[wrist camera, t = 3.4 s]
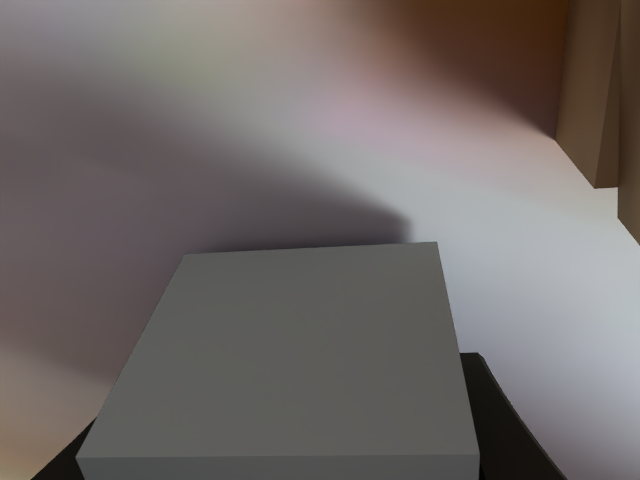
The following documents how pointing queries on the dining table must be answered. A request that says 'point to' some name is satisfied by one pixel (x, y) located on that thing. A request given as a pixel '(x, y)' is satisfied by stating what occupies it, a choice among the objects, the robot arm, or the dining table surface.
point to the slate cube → (293, 373)
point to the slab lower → (591, 90)
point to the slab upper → (629, 119)
